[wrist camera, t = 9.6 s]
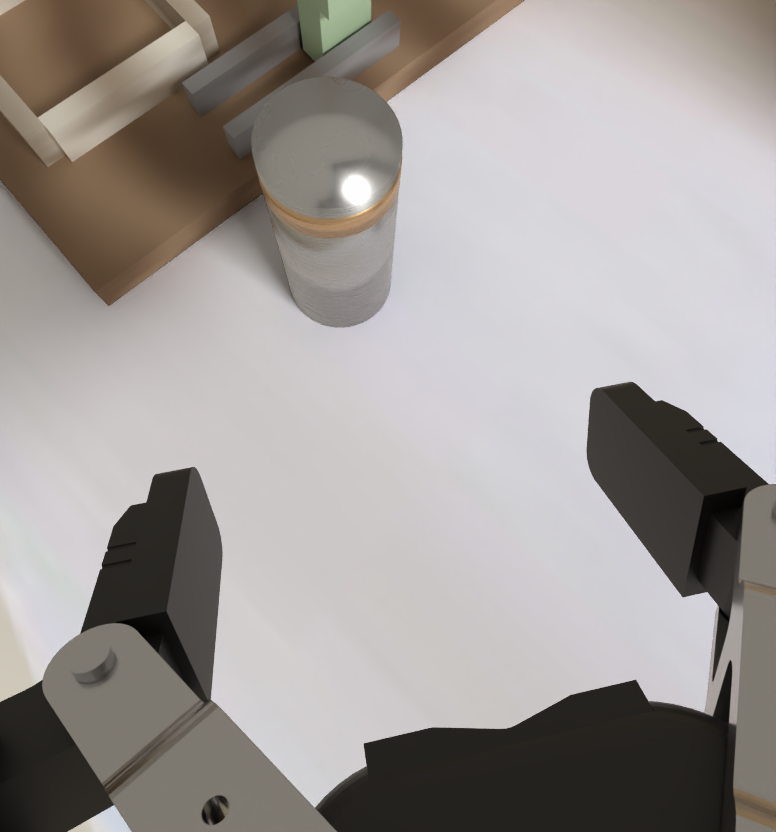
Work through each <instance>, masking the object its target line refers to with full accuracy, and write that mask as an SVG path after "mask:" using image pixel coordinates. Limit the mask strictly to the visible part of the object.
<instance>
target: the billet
mask: <svg viewBox="0 0 776 832" xmlns="http://www.w3.org/2000/svg"><path fill="white" fill-rule="evenodd" d="M251 146H252V154H253V158H254V162H255V167H256V171H257V175H258V178H259V182H260V185H261V189H262V192H263V195H264V198H265V201H266V204H267V208H268V211H269V215H270V218H271V222H272V226H273V229H274V233H275V236H276V240H277V243H278V247H279V250H280V254H281V257H282V261H283V265H284V268H285V272H286V275H287V279H288V282H289V286H290V289H291V293H292V296H293V298H294V301H295V302H296V304H297V306H298V307H299V308H300V310H301V311H302V312H303V313H304V314H305V315H307V316H308V317H309V318H311V319H312V320H314V321H316V322H318V323H320V324H323V325H326V326H330V327H350V326H354V325H358V324H360V323H363V322H365V321H366V320H368V319H370V318H371V317H373V316H374V315H375V314H376V313H377V312H378V311H379V310H380V309H381V308H382V306H383V305H384V303H385V301H386V299H387V297H388V294H389V291H390V285H391V273H392V262H393V250H394V239H395V227H396V216H397V204H398V192H399V185H400V176H401V165H402V133H401V128H400V125H399V122H398V119H397V117H396V115H395V113H394V112H393V110H392V109H391V107H390V106H389V105H388V104H387V102H386V101H385V100H384V99H383V98H382V97H381V96H379V95H378V94H377V93H376V92H374V91H373V90H371V89H370V88H368V87H366V86H364V85H362V84H360V83H357V82H354V81H352V80H348V79H344V78H337V77H317V78H310V79H305V80H302V81H299V82H296V83H294V84H292V85H289V86H287V87H286V88H284V89H282V90H281V91H279V92H278V93H277V94H275V95H274V96H273V97H272V98H271V99H270V100H269V101H268V102H267V103H266V104H265V105H264V107H263V108H262V109H261V111H260V113H259V115H258V116H257V118H256V121H255V124H254V126H253V131H252V139H251Z"/></svg>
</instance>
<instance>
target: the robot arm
mask: <svg viewBox="0 0 776 832" xmlns="http://www.w3.org/2000/svg"><path fill="white" fill-rule="evenodd" d="M587 460H588V465H589V468H590V471H591V473H592V476H593V477H594V479H595V481H596V482H597V483H598V485H599V486H600V487H601V489H602V490H603V491H604V493H605V494H606V495H607V497H608V498H609V499H610V501H611V502H612V503H613V505H614V506H615V507H616V509H617V510H618V511H619V513H620V514H621V515H622V517H623V518H624V519H625V521H626V522H627V523H628V525H629V526H630V527H631V529H632V530H633V531H634V533H635V534H636V535H637V537H638V538H639V539H640V541H641V542H642V543H643V545H644V546H645V547H646V549H647V550H648V551H649V553H650V554H651V556H652V557H653V558H654V560H655V561H656V562H657V564H658V565H659V566H660V568H661V569H662V570H663V572H664V573H665V574H666V576H667V577H668V578H669V580H670V581H671V582H672V584H673V585H674V586H675V588H676V589H677V590H678V592H679V593H680V594H681V596H682V597H686V596H691V595H695V594H700V593H704V592H708V593H709V594H710V596H711V597H712V598H713V599H714V601H715V602H716V603H717V604H718V605H717V609H716V613H715V622H714V631H713V641H712V651H711V661H710V671H709V681H708V691H707V699H706V706H705V712H704V713H703V712H700V711H697V710H694V709H691V708H687V707H683V706H679V705H675V704H669V703H662V702H653V701H648V700H647V698H646V697H645V695H644V693H643V691H642V690H641V688H640V686H639V684H638V683H637V681H636V680H633V681H629V682H625V683H620V684H616V685H612V686H607V687H603V688H599V689H595V690H590V691H586V692H582V693H578V694H573V695H570V696H568V697H566V698H565V699H563V700H561V701H559V702H557V703H556V704H554V705H552V706H550V707H548V708H546V709H545V710H543V711H541V712H539V713H537V714H536V715H534V716H532V717H530V718H528V719H526V720H525V721H523V722H521V723H519V724H517V725H516V726H513V727H511V728H507V729H475V728H428V729H424V730H420V731H415V732H411V733H407V734H403V735H398V736H394V737H390V738H385V739H381V740H377V741H373V742H368V743H364V749H365V757H366V764H367V766H366V767H364V768H363V769H361V770H359V771H357V772H355V773H354V774H352V775H351V776H349V777H348V778H347V779H345V780H344V781H342V782H341V783H340V784H338V785H337V786H336V787H335V788H334V789H333V790H332V791H331V792H330V793H328V794H327V795H326V796H325V797H324V798H323V799H322V801H321V802H320V803H319V804H318V805H317V806H316V807H315V808H314V807H313V806H312V805H311V804H310V802H309V801H308V800H307V799H306V798H305V797H304V796H303V795H302V794H301V793H300V792H299V791H298V790H297V789H296V788H295V787H294V785H293V784H292V783H291V782H290V781H289V780H288V779H287V778H286V777H285V776H284V775H283V774H282V773H281V772H280V771H279V770H278V768H277V767H276V766H275V765H274V764H273V763H272V762H271V761H270V760H269V759H268V758H267V757H266V756H265V755H264V754H263V753H262V751H261V750H260V749H259V748H258V747H257V746H256V745H255V744H254V743H253V742H252V741H251V740H250V739H249V738H248V737H247V736H246V734H245V733H244V732H243V731H242V730H241V729H240V728H239V727H238V726H237V725H236V724H235V723H234V722H233V721H232V720H231V719H230V717H229V716H228V715H227V714H226V713H225V712H224V711H223V710H222V709H221V708H220V707H219V706H218V705H217V704H216V703H214V702H213V701H212V700H211V688H212V676H213V664H214V652H215V640H216V628H217V616H218V604H219V592H220V580H221V568H222V543H221V536H220V532H219V528H218V525H217V522H216V519H215V516H214V513H213V511H212V508H211V505H210V502H209V499H208V497H207V494H206V491H205V488H204V485H203V482H202V480H201V477H200V474H199V472H198V470H197V469H196V468H195V467H191V468H186V469H181V470H176V471H170V472H165V473H160V474H155V475H154V477H153V479H152V483H151V487H150V491H149V495H148V499H147V503H142V504H137V505H132V506H130V507H129V508H128V510H127V511H126V512H125V513H124V514H123V516H122V517H121V518H120V519H119V521H118V522H117V523H116V524H115V525H114V527H113V530H112V534H111V537H110V540H109V543H108V546H107V549H108V552H106V553H105V556H104V559H103V562H102V569H101V570H100V572H99V575H98V579H97V582H96V585H95V588H94V591H93V595H92V598H91V601H90V604H89V607H88V611H87V614H86V617H85V620H84V624H83V627H82V630H81V633H80V634H79V635H78V636H76V637H75V638H73V639H72V640H71V641H69V642H68V643H67V644H65V645H64V646H63V647H62V648H61V649H60V650H59V651H58V652H57V654H56V655H55V656H54V657H53V659H52V660H51V662H50V663H49V665H48V667H47V669H46V671H45V674H44V677H43V680H42V681H40V682H39V683H37V684H36V685H34V686H32V687H30V688H28V689H26V690H25V691H23V692H20V693H18V694H16V695H14V696H12V697H10V698H8V699H6V700H4V701H1V702H0V832H67V831H69V830H71V829H73V828H74V827H76V826H78V825H80V824H81V823H83V822H85V821H87V820H88V819H90V818H92V817H94V816H95V815H97V814H99V813H101V812H102V811H104V810H106V809H108V808H109V807H111V806H113V805H115V807H116V808H117V810H118V811H119V813H120V814H121V816H122V817H123V819H124V820H125V822H126V823H127V825H128V827H129V828H130V830H131V831H132V832H776V484H768V483H767V482H766V481H764V480H763V479H762V478H761V477H760V476H759V475H758V474H756V473H755V472H754V471H753V470H752V469H751V468H750V467H749V466H747V465H746V464H745V463H744V462H743V461H742V460H741V459H740V458H738V457H737V456H736V455H735V454H734V453H733V452H732V451H730V450H729V449H728V448H727V447H726V446H725V445H724V444H723V443H721V442H718V441H717V438H716V437H715V436H713V435H712V434H711V433H710V432H709V431H708V430H707V429H706V430H704V429H703V426H702V425H701V424H700V423H699V422H698V421H696V420H695V419H694V418H693V417H692V416H691V415H690V414H689V413H687V412H686V411H684V410H682V409H680V408H677V407H675V406H673V405H671V404H669V403H667V402H664V401H662V400H661V401H656V402H655V401H654V400H653V399H652V398H651V397H650V396H648V395H647V394H646V393H645V392H644V391H643V390H642V389H641V388H640V387H639V386H638V385H637V384H635V383H633V382H627V383H622V384H616V385H611V386H606V387H601V388H596V389H594V390H593V392H592V394H591V398H590V410H589V424H588V438H587Z"/></svg>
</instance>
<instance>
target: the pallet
mask: <svg viewBox="0 0 776 832" xmlns="http://www.w3.org/2000/svg"><path fill="white" fill-rule="evenodd" d="M523 1H524V0H371V23H370V24H368V25H367V26H365V27H364V28H363V29H361V30H360V31H358V32H357V33H355V34H354V35H353V36H351V37H350V38H348V39H347V40H345V41H344V42H343V43H341V44H340V45H338V46H337V47H335V48H334V49H333V50H331V51H330V52H328V53H327V54H325V55H324V56H323V57H321V58H320V59H318V60H317V61H314V60H313V59H312V58H311V57H310V56H309V55H308V54H307V53H306V52H305V51H304V50H303V43H302V35H301V27H300V19H299V11H298V3H297V0H0V180H1V181H2V182H3V183H4V184H5V186H6V187H7V188H8V189H9V190H10V191H11V193H12V194H13V195H14V196H15V197H16V199H17V200H18V201H19V202H20V203H21V205H22V206H23V207H24V208H25V209H26V210H27V212H28V213H29V214H30V215H31V216H32V218H33V219H34V220H35V221H36V222H37V224H38V225H39V226H40V227H41V228H42V230H43V231H44V232H45V233H46V234H47V235H48V237H49V238H50V239H51V240H52V241H53V243H54V244H55V245H56V246H57V247H58V249H59V250H60V251H61V252H62V253H63V254H64V256H65V257H66V258H67V259H68V260H69V262H70V263H71V264H72V265H73V266H74V268H75V269H76V270H77V271H78V272H79V274H80V275H81V276H82V277H83V278H84V279H85V281H86V282H87V283H88V284H89V285H90V287H91V288H92V289H93V290H94V291H95V292H96V293H97V294H98V295H99V296H100V297H101V298H102V299H103V300H104V301H105V302H106V303H107V304H108V305H111V304H112V303H113V302H115V301H116V300H117V299H119V298H120V297H122V296H123V295H124V294H126V293H127V292H128V291H130V290H131V289H132V288H134V287H135V286H137V285H138V284H139V283H141V282H142V281H143V280H145V279H146V278H147V277H149V276H150V275H151V274H153V273H154V272H156V271H157V270H158V269H160V268H161V267H162V266H164V265H165V264H166V263H168V262H169V261H171V260H172V259H173V258H175V257H176V256H177V255H179V254H180V253H181V252H183V251H184V250H185V249H187V248H188V247H190V246H191V245H192V244H194V243H195V242H196V241H198V240H199V239H200V238H202V237H203V236H205V235H206V234H207V233H209V232H210V231H211V230H213V229H214V228H215V227H217V226H218V225H220V224H221V223H222V222H224V221H225V220H226V219H228V218H229V217H230V216H232V215H233V214H234V213H236V212H237V211H239V210H240V209H241V208H243V207H244V206H245V205H247V204H248V203H249V202H251V201H252V200H254V199H255V198H256V197H258V196H259V195H260V194H262V193H263V192H262V189H261V185H260V182H259V178H258V175H257V171H256V167H255V162H254V158H253V154H252V146H251V139H252V131H253V126H254V124H255V121H256V118H257V116H258V115H259V113H260V111H261V109H262V108H263V107H264V105H265V104H266V103H267V102H268V101H269V100H270V99H271V98H272V97H273V96H274V95H275V94H277V93H278V92H279V91H281V90H282V89H284V88H286V87H287V86H289V85H292V84H294V83H296V82H299V81H302V80H305V79H310V78H317V77H337V78H344V79H348V80H352V81H354V82H357V83H360V84H362V85H364V86H366V87H368V88H370V89H371V90H373V91H374V92H376V93H377V94H378V95H379V96H381V97H382V98H383V99H384V100H385V101H386V102H387V101H388V100H390V99H391V98H392V97H394V96H395V95H396V94H398V93H399V92H400V91H402V90H403V89H405V88H406V87H407V86H409V85H410V84H411V83H413V82H414V81H415V80H417V79H418V78H419V77H421V76H422V75H424V74H425V73H426V72H428V71H429V70H430V69H432V68H433V67H434V66H436V65H437V64H439V63H440V62H441V61H443V60H444V59H445V58H447V57H448V56H449V55H451V54H452V53H453V52H455V51H456V50H458V49H459V48H460V47H462V46H463V45H464V44H466V43H467V42H468V41H470V40H471V39H473V38H474V37H475V36H477V35H478V34H479V33H481V32H482V31H483V30H485V29H486V28H487V27H489V26H490V25H492V24H493V23H494V22H496V21H497V20H498V19H500V18H501V17H502V16H504V15H505V14H507V13H508V12H509V11H511V10H512V9H513V8H515V7H516V6H517V5H519V4H520V3H521V2H523Z"/></svg>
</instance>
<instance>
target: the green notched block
mask: <svg viewBox="0 0 776 832" xmlns="http://www.w3.org/2000/svg"><path fill="white" fill-rule="evenodd" d="M297 3H298V11H299V19H300V27H301V35H302V43H303V50H304V51H305V52H306V53H307V54H308V55H309V56H310V57H311V58H312V59H313V60H314V61H317V60H318V59H320V58H321V57H323V56H324V55H325V54H327V53H328V52H330V51H331V50H333V49H334V48H335V47H337V46H338V45H340V44H341V43H343V42H344V41H345V40H347V39H348V38H350V37H351V36H353V35H354V34H355V33H357V32H358V31H360V30H361V29H363V28H364V27H365V26H367V25H368V24H370V23H371V0H297Z"/></svg>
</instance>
